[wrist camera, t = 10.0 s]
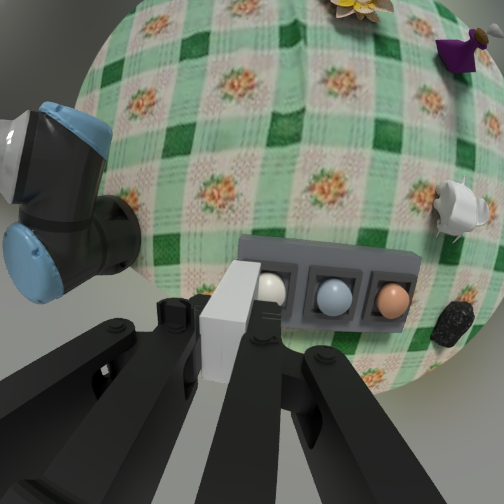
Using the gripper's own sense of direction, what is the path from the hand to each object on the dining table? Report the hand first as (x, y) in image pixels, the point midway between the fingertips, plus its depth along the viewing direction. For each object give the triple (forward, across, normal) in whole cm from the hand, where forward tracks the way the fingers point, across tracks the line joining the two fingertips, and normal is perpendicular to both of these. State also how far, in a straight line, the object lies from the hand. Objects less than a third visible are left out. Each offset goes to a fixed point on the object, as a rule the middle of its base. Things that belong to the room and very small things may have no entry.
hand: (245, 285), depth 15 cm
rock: (+30, +40, -17) cm, 53 cm away
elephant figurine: (+30, +32, +6) cm, 44 cm away
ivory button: (+25, +1, -10) cm, 27 cm away
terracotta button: (+25, +21, -10) cm, 34 cm away
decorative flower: (+30, +13, +46) cm, 56 cm away
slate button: (+25, +11, -10) cm, 29 cm away
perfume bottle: (+30, +34, +37) cm, 58 cm away
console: (+29, +11, -10) cm, 33 cm away
